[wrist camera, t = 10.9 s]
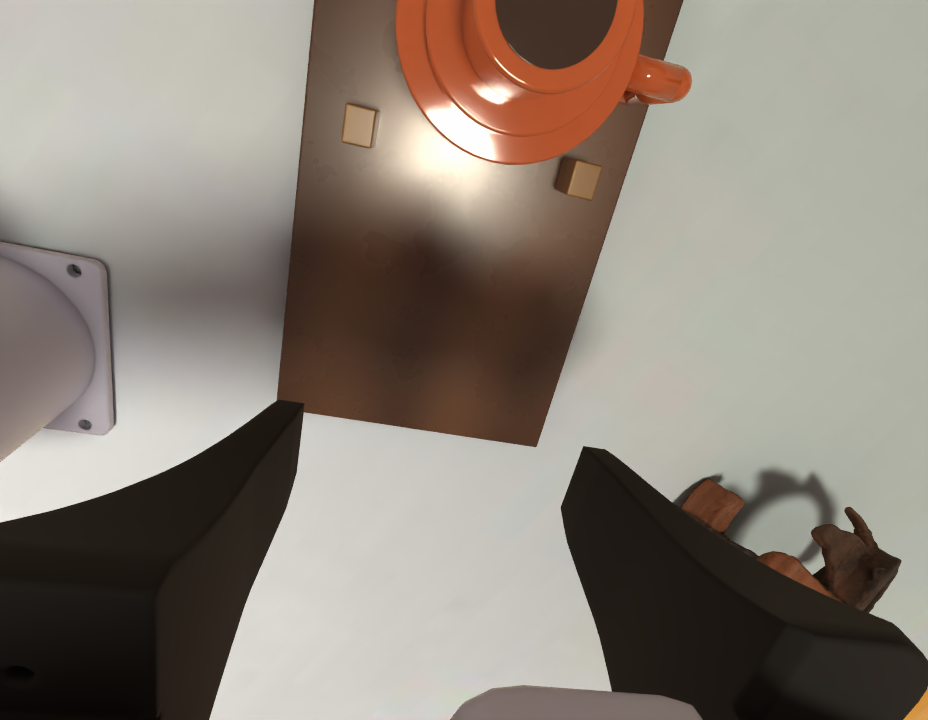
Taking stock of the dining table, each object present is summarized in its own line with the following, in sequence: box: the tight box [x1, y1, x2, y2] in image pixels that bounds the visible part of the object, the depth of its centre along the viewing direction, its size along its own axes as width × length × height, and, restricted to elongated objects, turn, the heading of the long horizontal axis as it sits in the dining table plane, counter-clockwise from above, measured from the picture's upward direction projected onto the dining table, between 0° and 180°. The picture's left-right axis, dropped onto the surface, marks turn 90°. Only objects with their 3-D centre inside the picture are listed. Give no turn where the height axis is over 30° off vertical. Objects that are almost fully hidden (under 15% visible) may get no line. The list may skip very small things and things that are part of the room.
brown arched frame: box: [681, 479, 901, 613], centre depth 27 cm, size 12×10×8 cm
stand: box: [277, 0, 683, 447], centre depth 19 cm, size 12×20×3 cm, turn 167°
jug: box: [395, 0, 692, 165], centre depth 14 cm, size 6×8×10 cm
